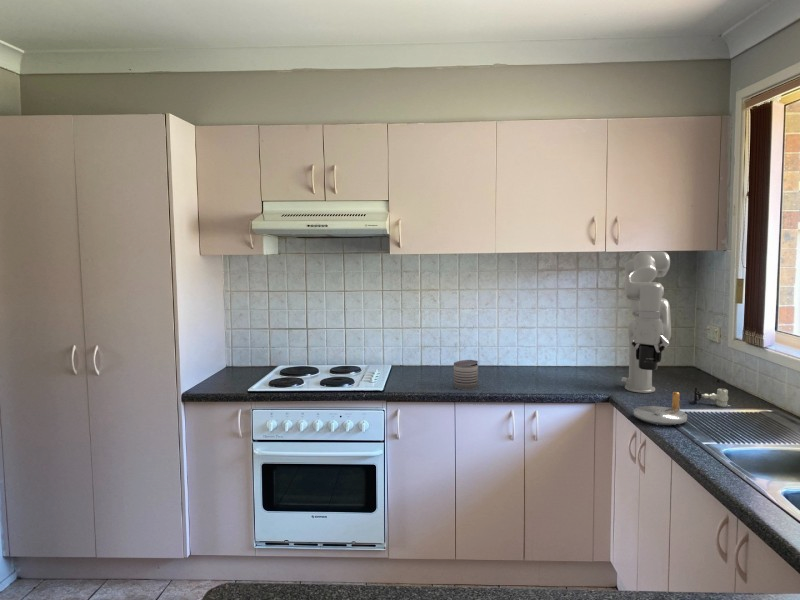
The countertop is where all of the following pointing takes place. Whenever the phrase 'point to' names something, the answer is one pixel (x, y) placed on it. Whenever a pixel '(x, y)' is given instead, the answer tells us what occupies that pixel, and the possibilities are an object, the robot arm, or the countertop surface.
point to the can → (466, 374)
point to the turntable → (662, 413)
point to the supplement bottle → (647, 357)
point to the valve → (713, 396)
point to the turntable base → (657, 423)
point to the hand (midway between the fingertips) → (648, 360)
